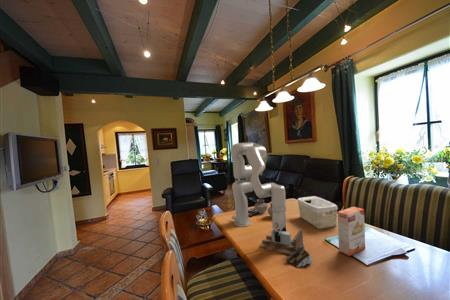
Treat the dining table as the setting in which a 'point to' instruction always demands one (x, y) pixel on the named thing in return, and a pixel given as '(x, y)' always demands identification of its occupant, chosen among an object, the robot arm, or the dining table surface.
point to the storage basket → (318, 212)
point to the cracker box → (351, 230)
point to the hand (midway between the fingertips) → (280, 237)
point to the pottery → (263, 207)
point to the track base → (283, 248)
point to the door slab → (282, 238)
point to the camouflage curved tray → (299, 257)
